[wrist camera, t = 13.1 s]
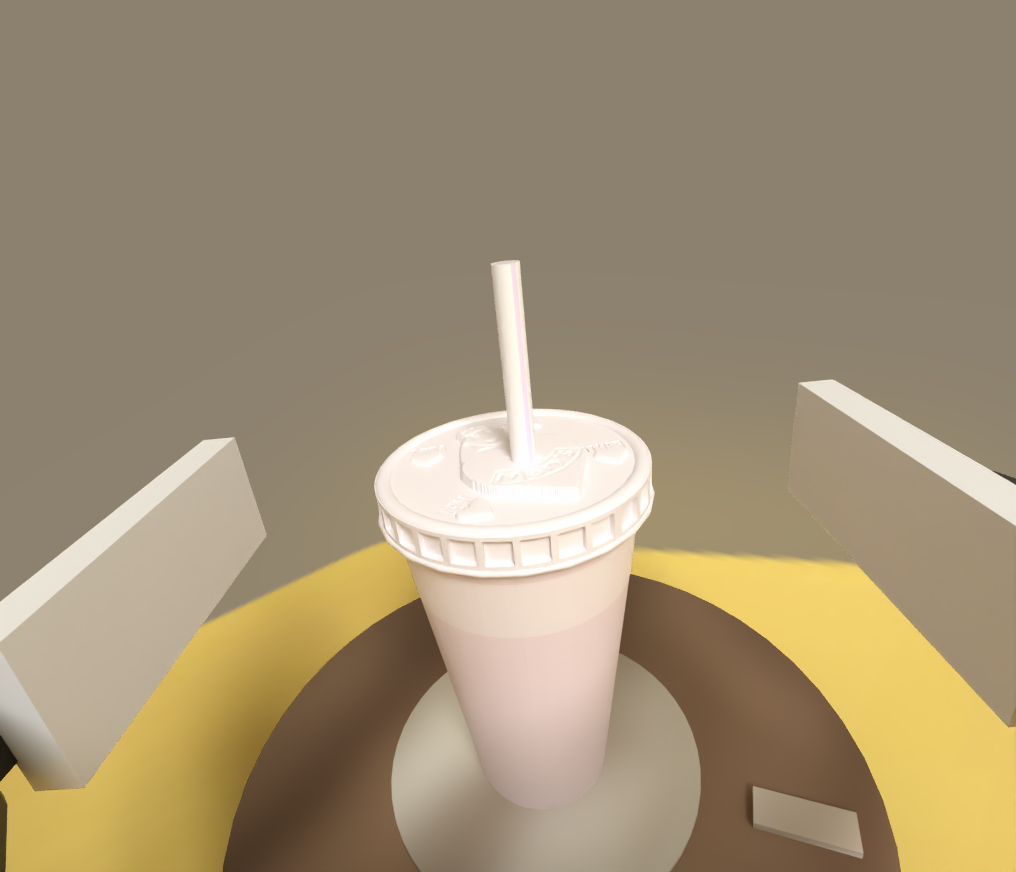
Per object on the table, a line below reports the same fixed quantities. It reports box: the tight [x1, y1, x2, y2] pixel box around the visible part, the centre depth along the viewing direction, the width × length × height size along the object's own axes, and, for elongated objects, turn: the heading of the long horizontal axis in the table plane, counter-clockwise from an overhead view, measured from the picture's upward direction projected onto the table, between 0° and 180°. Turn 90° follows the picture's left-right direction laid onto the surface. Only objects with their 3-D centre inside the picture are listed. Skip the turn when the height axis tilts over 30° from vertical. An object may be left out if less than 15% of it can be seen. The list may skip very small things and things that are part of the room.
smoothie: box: [375, 260, 655, 810], centre depth 14 cm, size 6×6×14 cm
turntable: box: [223, 574, 901, 872], centre depth 17 cm, size 18×18×2 cm
